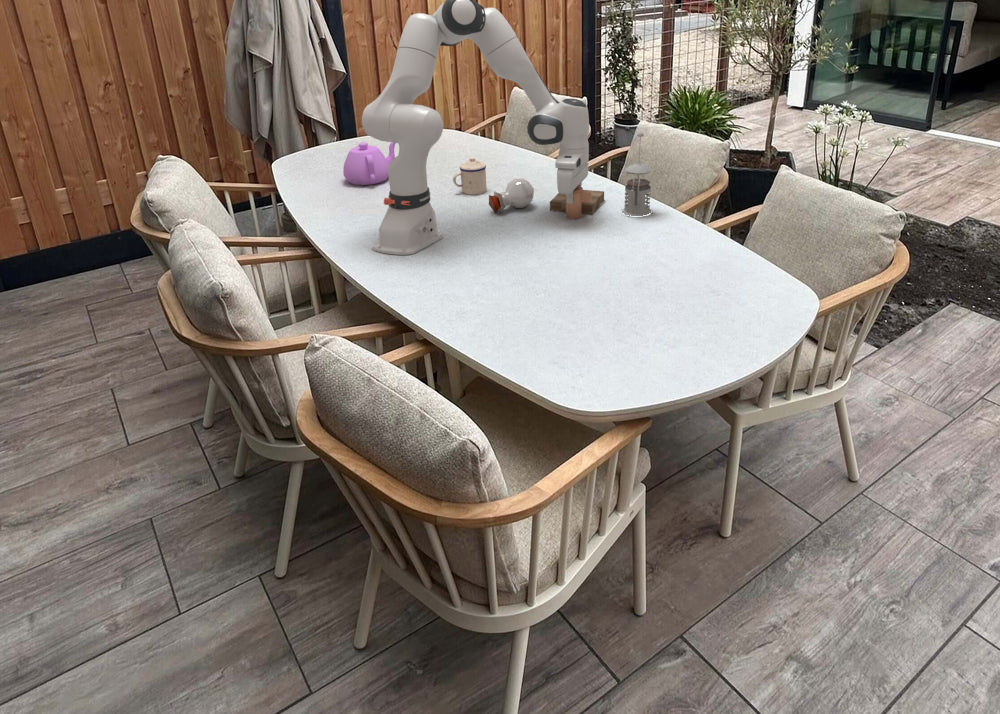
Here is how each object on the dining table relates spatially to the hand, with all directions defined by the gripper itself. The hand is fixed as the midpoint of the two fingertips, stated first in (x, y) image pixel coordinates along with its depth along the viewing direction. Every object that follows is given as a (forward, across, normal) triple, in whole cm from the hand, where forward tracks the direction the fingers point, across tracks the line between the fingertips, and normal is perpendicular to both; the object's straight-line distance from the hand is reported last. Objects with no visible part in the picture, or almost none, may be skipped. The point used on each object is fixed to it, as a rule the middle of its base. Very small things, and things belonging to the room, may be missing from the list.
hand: (573, 199), depth 237 cm
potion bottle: (+6, -2, -21) cm, 22 cm away
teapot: (+6, -18, -83) cm, 85 cm away
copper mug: (+6, 0, +1) cm, 6 cm away
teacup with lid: (+6, -14, -42) cm, 45 cm away
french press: (+6, -8, +18) cm, 21 cm away
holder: (+6, -10, -2) cm, 12 cm away
